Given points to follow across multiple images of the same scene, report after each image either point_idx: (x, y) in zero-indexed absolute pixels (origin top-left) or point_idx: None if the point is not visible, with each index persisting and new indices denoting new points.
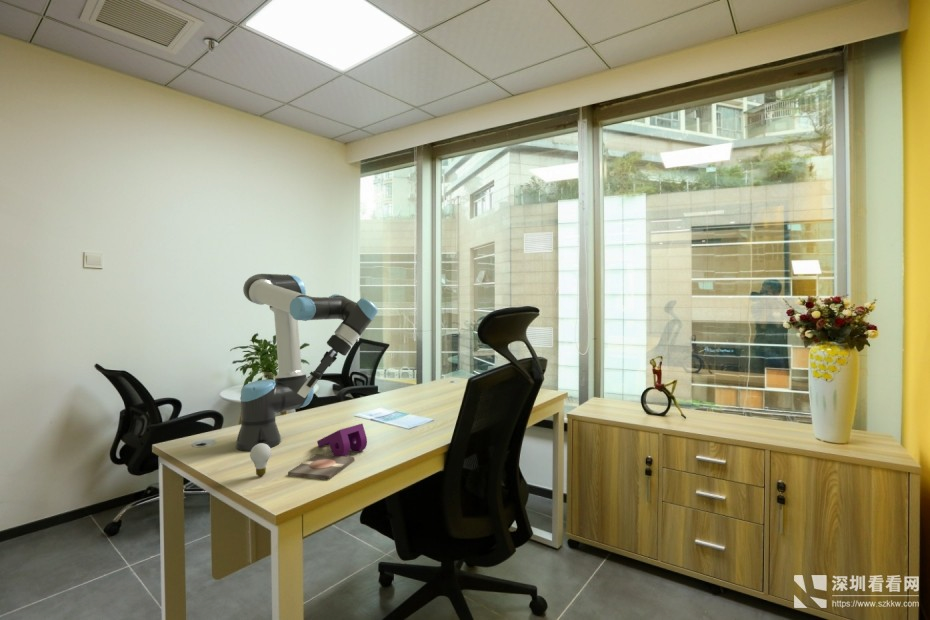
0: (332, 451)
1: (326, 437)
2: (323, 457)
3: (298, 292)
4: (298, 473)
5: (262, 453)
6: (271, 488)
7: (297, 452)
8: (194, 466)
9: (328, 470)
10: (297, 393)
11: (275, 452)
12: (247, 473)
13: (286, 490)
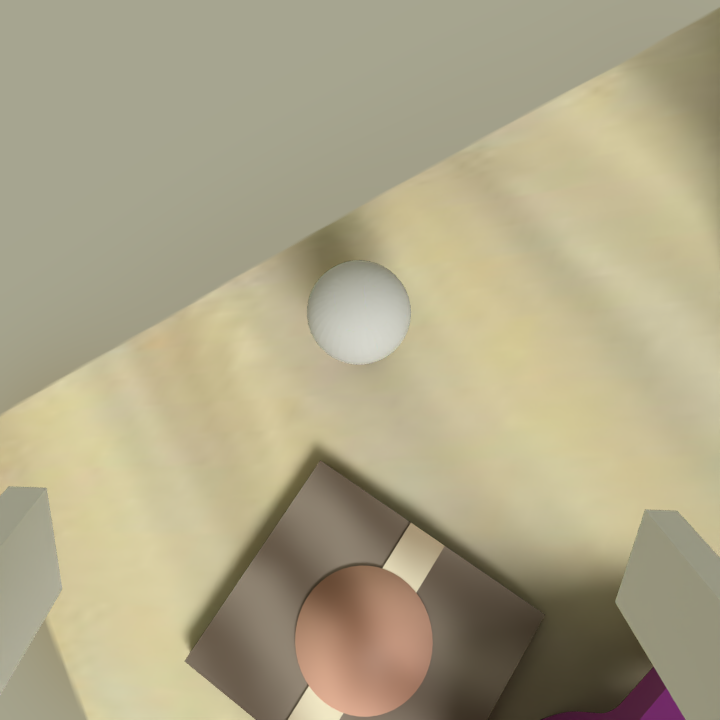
0: (560, 717)
1: (643, 707)
2: (474, 651)
3: None
4: (287, 509)
5: (309, 320)
6: (207, 399)
7: (664, 505)
8: (582, 86)
9: (258, 662)
10: (7, 491)
11: (694, 390)
12: (421, 292)
13: (158, 459)
